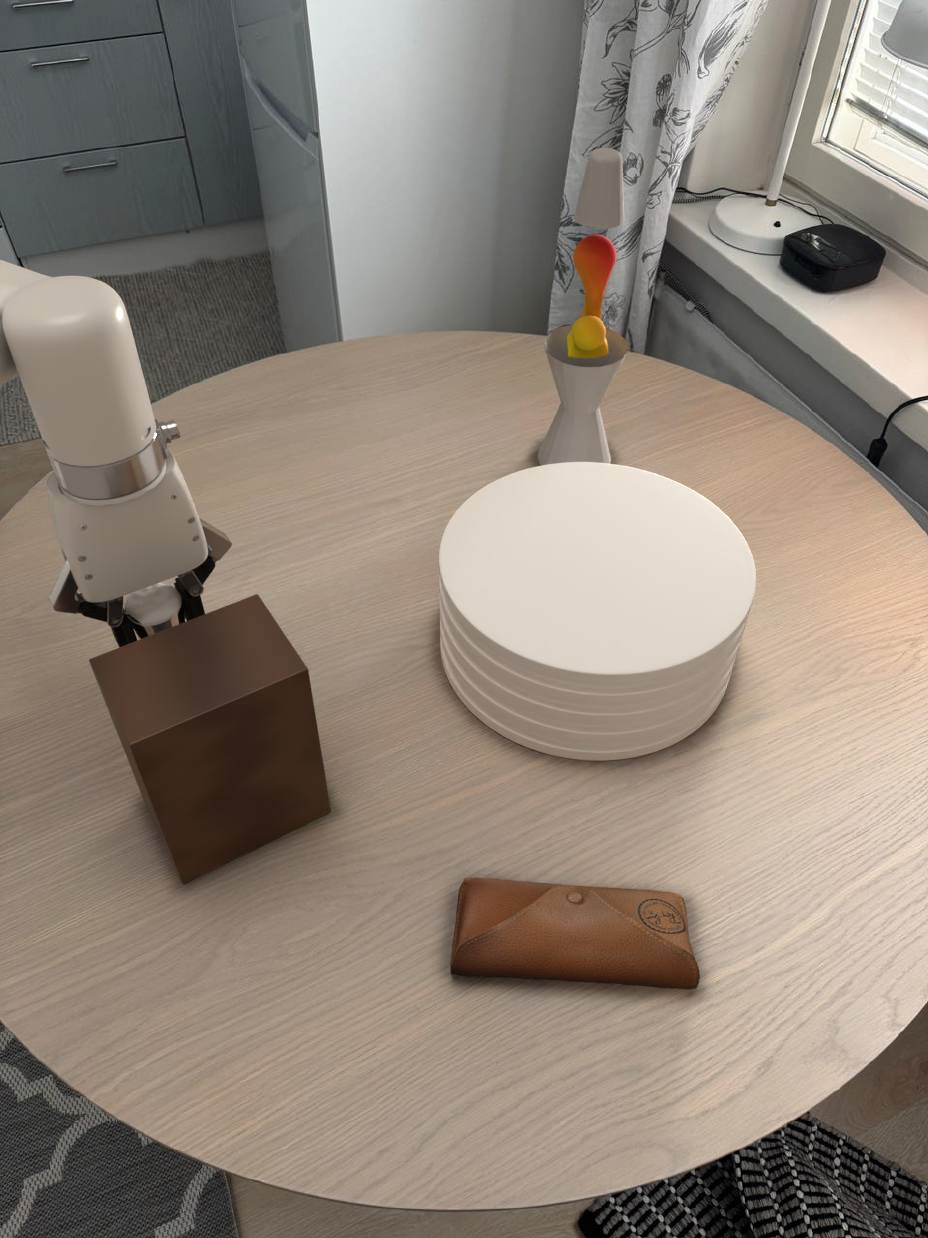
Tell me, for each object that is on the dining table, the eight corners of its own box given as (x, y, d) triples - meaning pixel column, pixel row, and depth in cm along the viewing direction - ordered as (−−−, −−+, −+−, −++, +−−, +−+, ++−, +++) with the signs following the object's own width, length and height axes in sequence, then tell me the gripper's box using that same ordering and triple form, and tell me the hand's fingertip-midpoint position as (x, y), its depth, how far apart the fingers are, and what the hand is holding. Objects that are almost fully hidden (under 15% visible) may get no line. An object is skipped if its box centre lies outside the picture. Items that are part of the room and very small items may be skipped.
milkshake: (134, 688, 85) (101, 606, 78) (166, 644, 89) (137, 562, 82) (180, 701, 84) (151, 619, 77) (211, 656, 88) (186, 574, 81)
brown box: (182, 885, 78) (129, 745, 66) (141, 796, 84) (84, 652, 71) (331, 812, 83) (308, 668, 70) (282, 732, 89) (253, 586, 76)
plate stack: (764, 754, 88) (796, 667, 79) (446, 767, 86) (445, 680, 78) (695, 544, 107) (715, 457, 99) (435, 552, 106) (433, 465, 98)
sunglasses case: (685, 887, 78) (703, 889, 71) (686, 982, 76) (704, 993, 70) (455, 876, 78) (452, 877, 72) (451, 970, 77) (447, 980, 70)
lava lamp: (535, 434, 121) (556, 133, 96) (610, 436, 121) (650, 135, 96) (536, 480, 115) (559, 170, 90) (615, 482, 115) (659, 172, 90)
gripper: (202, 396, 76) (240, 573, 89) (-28, 467, 69) (49, 645, 82) (240, 446, 71) (274, 624, 84) (-2, 526, 65) (75, 705, 78)
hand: (162, 633), depth 83 cm, fingers closed on milkshake, 4 cm apart
